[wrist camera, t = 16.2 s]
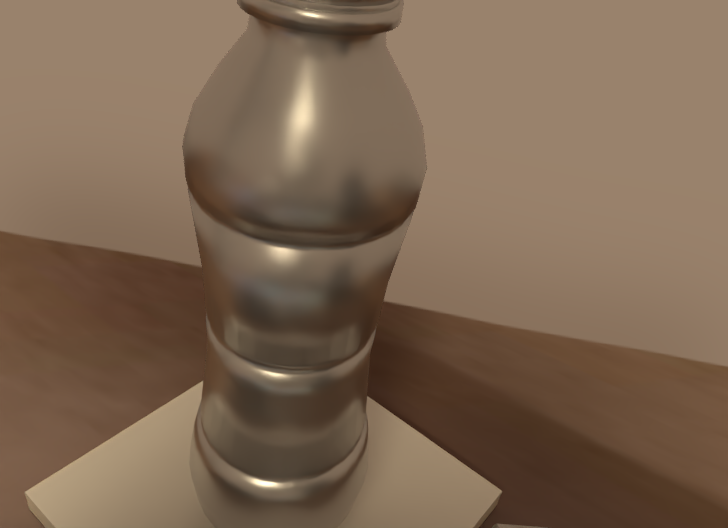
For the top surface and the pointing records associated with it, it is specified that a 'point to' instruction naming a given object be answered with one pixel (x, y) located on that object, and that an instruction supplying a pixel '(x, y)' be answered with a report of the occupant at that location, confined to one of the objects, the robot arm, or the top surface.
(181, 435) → the ceramic tile
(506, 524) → the robot arm
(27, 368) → the top surface
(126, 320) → the top surface
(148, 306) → the top surface
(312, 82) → the plastic bottle
